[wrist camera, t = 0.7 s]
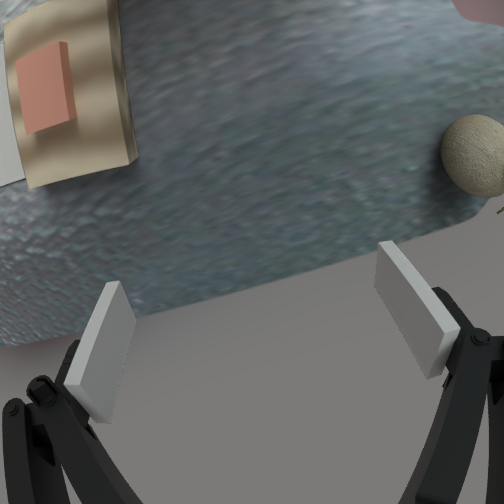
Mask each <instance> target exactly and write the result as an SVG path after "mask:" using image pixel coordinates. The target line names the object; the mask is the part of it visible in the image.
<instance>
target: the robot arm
mask: <svg viewBox="0 0 504 504" xmlns="http://www.w3.org/2000/svg"><path fill="white" fill-rule="evenodd" d="M374 287H375V288H376V290H377V292H378V294H379V295H380V297H381V299H382V300H383V302H384V304H385V305H386V307H387V309H388V310H389V312H390V314H391V315H392V317H393V319H394V321H395V323H396V324H397V326H398V328H399V330H400V331H401V333H402V335H403V337H404V339H405V340H406V342H407V344H408V346H409V348H410V349H411V351H412V353H413V355H414V357H415V359H416V360H417V362H418V364H419V366H420V368H421V370H422V372H423V374H424V376H425V378H426V379H430V378H433V377H435V376H438V375H441V374H442V372H443V370H444V367H445V365H446V367H447V369H448V371H449V374H448V376H447V378H446V380H445V382H444V384H443V386H442V387H443V388H444V389H443V393H442V396H441V399H440V403H439V406H438V409H437V412H436V415H435V418H434V421H433V424H432V427H431V429H430V432H429V435H428V438H427V440H426V443H425V446H424V448H423V450H422V453H421V455H420V458H419V460H418V463H417V465H416V467H415V470H414V472H413V474H412V476H411V478H410V481H409V483H408V485H407V487H406V489H405V491H404V493H403V495H402V497H401V499H400V501H399V503H398V504H456V502H457V499H458V497H459V494H460V492H461V489H462V486H463V483H464V480H465V477H466V474H467V471H468V468H469V465H470V461H471V458H472V455H473V451H474V448H475V444H476V440H477V436H478V432H479V428H480V424H481V419H482V415H483V410H484V405H485V400H486V394H487V397H488V415H489V467H488V483H487V495H486V504H504V336H491V335H490V334H489V333H488V332H487V331H486V330H483V329H480V328H474V326H473V325H472V324H471V322H470V321H469V320H468V318H467V317H466V316H465V314H464V313H463V312H462V310H461V309H460V308H459V307H458V305H457V304H456V303H455V301H453V299H452V298H451V296H450V295H449V294H448V293H447V292H446V291H444V290H443V289H441V288H440V287H435V288H430V287H429V285H428V284H427V283H426V281H425V280H424V279H423V278H422V276H421V275H420V274H419V273H418V271H417V270H416V269H415V268H414V267H413V265H412V264H411V263H410V262H409V261H408V259H407V258H406V257H405V256H404V255H403V253H402V252H401V251H400V250H399V249H398V248H397V246H396V245H395V244H394V243H393V242H392V241H385V242H379V243H378V253H377V264H376V274H375V284H374ZM136 323H137V320H136V318H135V315H134V313H133V311H132V309H131V306H130V304H129V302H128V299H127V297H126V295H125V292H124V290H123V287H122V285H121V283H120V281H114V282H107V283H106V285H105V287H104V289H103V292H102V294H101V296H100V298H99V300H98V302H97V304H96V307H95V309H94V311H93V313H92V316H91V318H90V320H89V322H88V325H87V327H86V329H85V332H84V334H83V336H82V339H81V340H75V341H74V342H73V343H72V344H71V346H70V347H69V348H68V350H67V353H66V355H65V358H64V360H63V362H62V365H61V367H60V369H59V372H58V374H57V377H56V380H55V383H53V382H52V380H51V379H50V378H49V377H48V376H46V375H41V376H38V377H36V378H34V379H33V380H32V381H31V382H30V383H29V385H28V387H27V390H26V392H27V396H28V397H29V398H30V399H31V400H32V402H33V403H29V404H25V403H24V402H23V401H22V400H21V399H19V398H13V399H11V400H9V401H8V402H7V403H6V404H5V406H4V408H3V413H2V430H3V431H2V432H3V455H4V468H5V479H6V487H7V495H8V502H9V504H70V500H69V496H68V492H67V489H66V484H65V480H64V476H63V471H62V467H63V469H64V471H65V473H66V475H67V477H68V479H69V481H70V483H71V484H72V486H73V488H74V490H75V492H76V494H77V496H78V497H79V499H80V501H81V503H82V504H143V503H142V502H141V501H140V499H139V498H138V497H137V495H136V494H135V493H134V491H133V490H132V489H131V487H130V486H129V484H128V483H127V482H126V480H125V479H124V477H123V476H122V475H121V473H120V472H119V470H118V469H117V467H116V466H115V464H114V463H113V462H112V460H111V458H110V457H109V455H108V453H107V452H106V450H105V449H104V447H103V446H102V444H101V442H100V441H99V439H98V437H97V436H96V434H95V432H94V431H93V429H92V427H91V426H90V425H89V424H88V420H89V416H90V417H91V418H92V419H93V420H94V421H95V422H96V423H107V424H111V421H112V417H113V412H114V408H115V403H116V399H117V395H118V391H119V386H120V382H121V378H122V374H123V370H124V366H125V363H126V359H127V355H128V351H129V348H130V344H131V340H132V337H133V333H134V330H135V326H136ZM61 465H62V467H61Z"/></svg>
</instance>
